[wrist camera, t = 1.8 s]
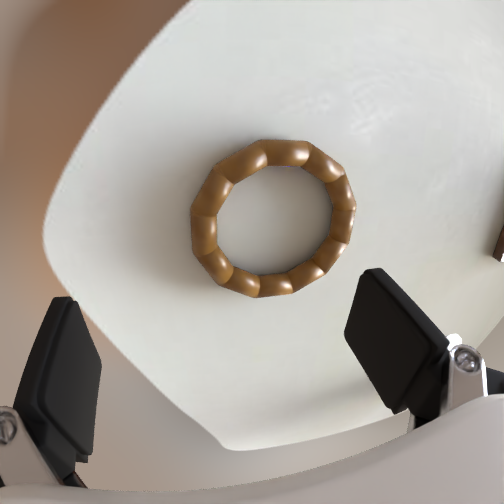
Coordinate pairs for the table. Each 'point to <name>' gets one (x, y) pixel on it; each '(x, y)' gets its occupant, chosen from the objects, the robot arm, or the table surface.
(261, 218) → the table surface
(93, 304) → the table surface
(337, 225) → the ring
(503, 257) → the post
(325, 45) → the table surface
